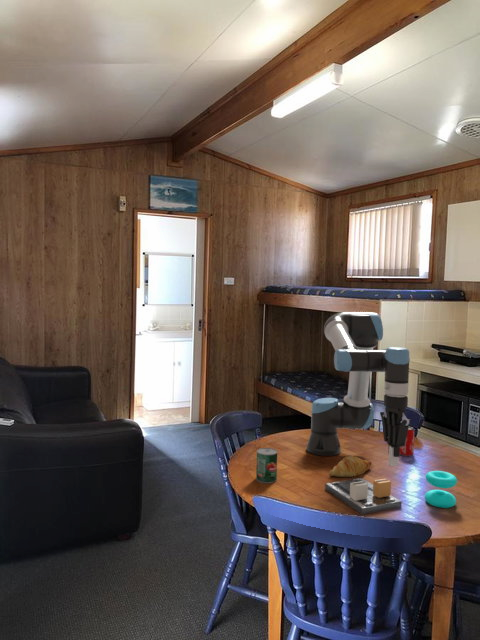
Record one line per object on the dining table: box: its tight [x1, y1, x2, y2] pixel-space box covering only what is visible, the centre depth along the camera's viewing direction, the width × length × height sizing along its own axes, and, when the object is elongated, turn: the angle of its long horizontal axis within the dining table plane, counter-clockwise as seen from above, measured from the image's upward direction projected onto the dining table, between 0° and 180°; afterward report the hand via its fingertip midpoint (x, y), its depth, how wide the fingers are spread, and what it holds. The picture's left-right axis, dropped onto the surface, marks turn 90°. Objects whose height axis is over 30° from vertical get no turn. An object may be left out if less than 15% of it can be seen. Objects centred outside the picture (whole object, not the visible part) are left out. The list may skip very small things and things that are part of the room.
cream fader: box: [350, 481, 368, 501], centre depth 174 cm, size 3×5×5 cm, turn 113°
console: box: [324, 477, 403, 515], centre depth 179 cm, size 22×16×3 cm
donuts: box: [424, 470, 458, 509], centre depth 176 cm, size 10×10×10 cm
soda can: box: [399, 426, 415, 457], centre depth 227 cm, size 6×6×12 cm
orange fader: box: [372, 477, 392, 498], centre depth 176 cm, size 3×5×5 cm, turn 113°
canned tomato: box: [255, 447, 278, 484], centre depth 195 cm, size 8×8×11 cm
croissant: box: [329, 455, 372, 478], centre depth 204 cm, size 21×10×8 cm, turn 122°
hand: (393, 465), depth 169 cm, fingers closed
